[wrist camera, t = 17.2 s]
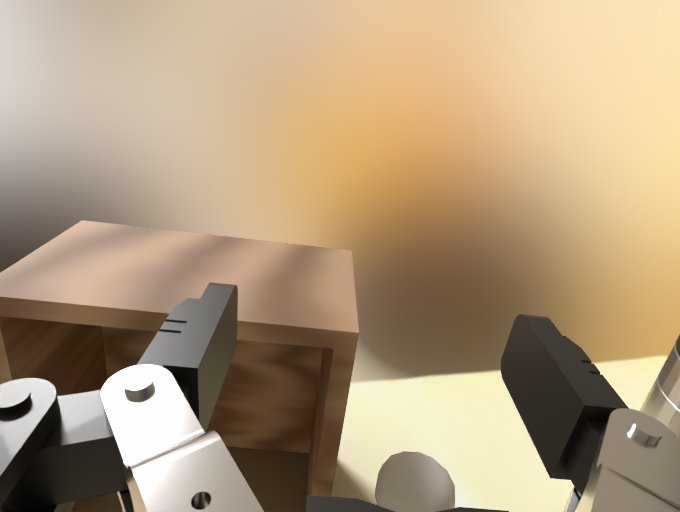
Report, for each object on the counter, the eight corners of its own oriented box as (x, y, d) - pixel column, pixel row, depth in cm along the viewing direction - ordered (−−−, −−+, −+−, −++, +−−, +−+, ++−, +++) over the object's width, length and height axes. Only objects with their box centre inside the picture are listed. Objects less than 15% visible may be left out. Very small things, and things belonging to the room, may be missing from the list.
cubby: (322, 444, 42) (351, 250, 34) (318, 566, 32) (358, 332, 23) (106, 425, 40) (82, 220, 32) (31, 546, 30) (-32, 293, 22)
